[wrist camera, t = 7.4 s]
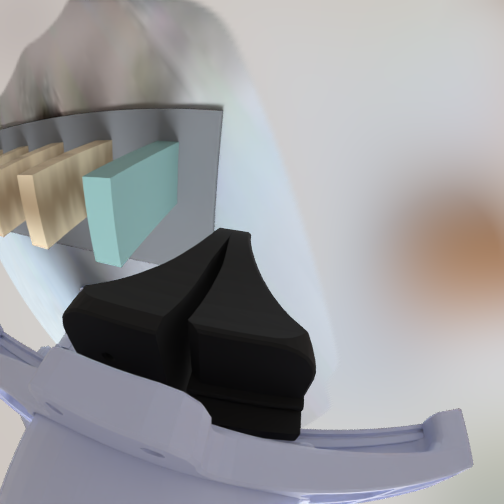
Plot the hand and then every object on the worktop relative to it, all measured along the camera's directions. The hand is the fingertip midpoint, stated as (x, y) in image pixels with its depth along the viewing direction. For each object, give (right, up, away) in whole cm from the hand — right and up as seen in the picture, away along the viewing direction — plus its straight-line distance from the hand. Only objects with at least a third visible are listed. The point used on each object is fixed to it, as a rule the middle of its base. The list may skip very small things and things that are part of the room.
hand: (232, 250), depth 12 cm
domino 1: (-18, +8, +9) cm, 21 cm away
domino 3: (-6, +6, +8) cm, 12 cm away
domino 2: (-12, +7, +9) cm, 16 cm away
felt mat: (-17, +6, +10) cm, 21 cm away
